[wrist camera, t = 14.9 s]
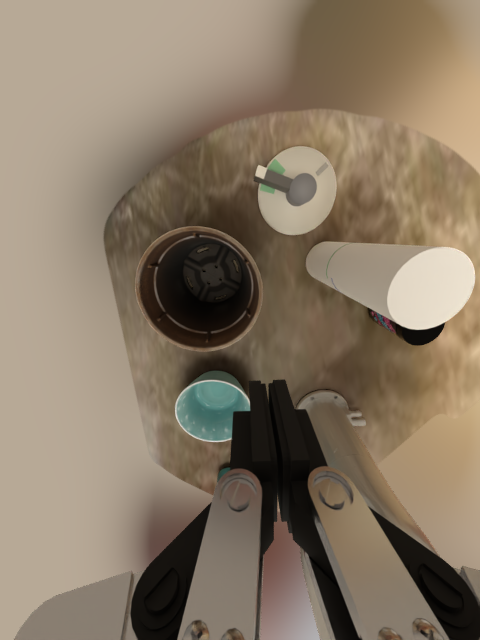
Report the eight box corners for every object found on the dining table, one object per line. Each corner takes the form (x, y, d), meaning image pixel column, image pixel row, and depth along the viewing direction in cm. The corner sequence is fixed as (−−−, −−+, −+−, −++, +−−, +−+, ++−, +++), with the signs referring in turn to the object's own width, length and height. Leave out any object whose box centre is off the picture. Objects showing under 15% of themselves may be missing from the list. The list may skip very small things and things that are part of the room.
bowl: (188, 352, 49) (179, 374, 41) (257, 365, 50) (260, 389, 43) (180, 407, 55) (170, 435, 47) (242, 418, 56) (243, 447, 48)
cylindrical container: (315, 286, 44) (401, 343, 20) (299, 254, 42) (375, 276, 18) (349, 267, 43) (482, 304, 19) (334, 233, 40) (465, 228, 17)
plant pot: (268, 292, 44) (283, 321, 29) (199, 327, 47) (181, 369, 32) (230, 213, 39) (223, 198, 24) (155, 256, 42) (107, 267, 27)
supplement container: (383, 285, 44) (424, 299, 34) (407, 302, 45) (454, 320, 35) (360, 312, 46) (392, 333, 36) (384, 328, 47) (422, 352, 37)
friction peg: (313, 184, 36) (321, 178, 33) (303, 209, 37) (309, 207, 34) (259, 162, 35) (261, 154, 32) (251, 189, 36) (252, 184, 33)
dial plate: (336, 147, 36) (341, 143, 34) (329, 233, 40) (333, 232, 39) (256, 152, 36) (257, 148, 34) (258, 236, 41) (259, 237, 39)
